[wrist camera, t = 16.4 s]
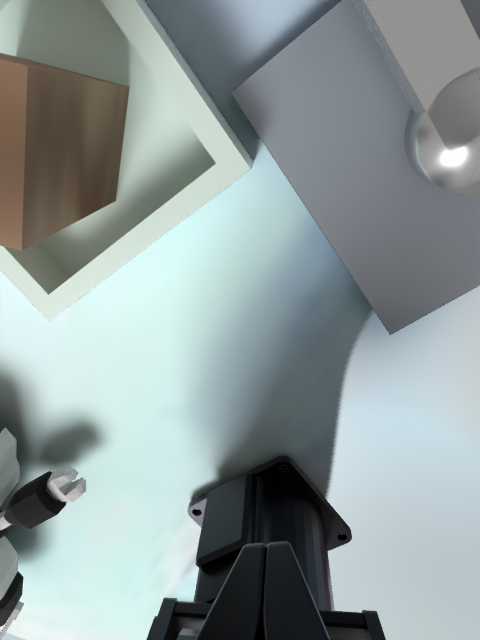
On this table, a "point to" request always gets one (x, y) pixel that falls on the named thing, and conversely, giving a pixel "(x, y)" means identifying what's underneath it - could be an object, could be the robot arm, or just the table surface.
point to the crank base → (364, 167)
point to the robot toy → (26, 516)
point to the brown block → (55, 148)
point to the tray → (138, 143)
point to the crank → (434, 85)
